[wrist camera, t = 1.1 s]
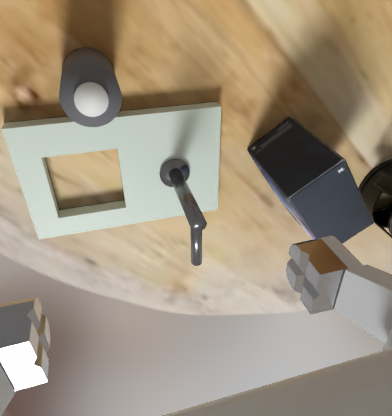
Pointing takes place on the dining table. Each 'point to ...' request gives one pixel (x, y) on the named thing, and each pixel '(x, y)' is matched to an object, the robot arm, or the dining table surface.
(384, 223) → the french press
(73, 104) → the grey cylinder with ball
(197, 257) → the grey angled rod part
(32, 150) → the pale green board
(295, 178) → the small box
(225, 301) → the dining table surface
